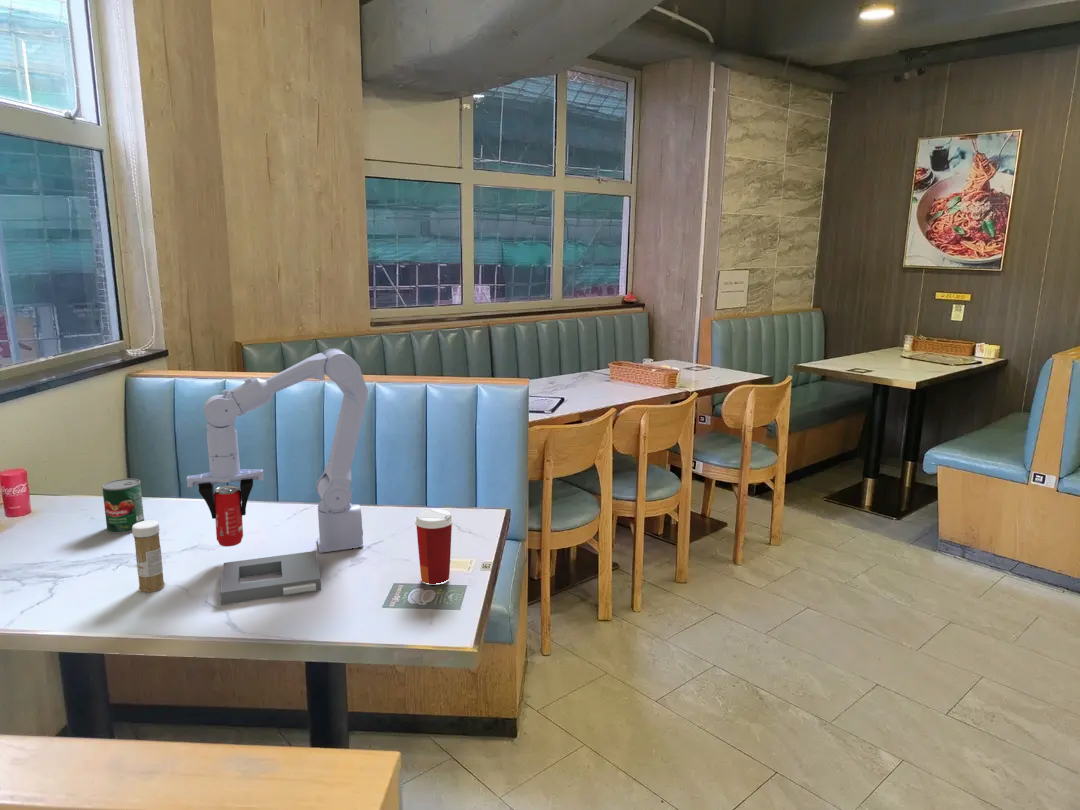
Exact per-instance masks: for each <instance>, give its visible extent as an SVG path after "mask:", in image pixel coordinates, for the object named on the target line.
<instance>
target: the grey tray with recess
mask: <svg viewBox="0 0 1080 810" xmlns="http://www.w3.org/2000/svg"><path fill="white" fill-rule="evenodd" d="M279 573H281V577H275V578H274V577H273V578H268V579H262V580H261V579H260V580H254V581H246V582H241V579H244V578H250V577H257V576H264V575H273V574H279ZM321 581H322V578H321V573H320V568H319V562H318V556H317V552H316V550H312V551H303V552H298V553H289V554H281V555H273V556H267V557H258V558H251V559H250V558H249V559H243V560H236V561H235V560H234V561H228V562H224V563H223V567H222V576H221V583H220V584H221V585H220V593H219V594H220V602H221V603H220V605H221V606H225V605H232V604H238V603H246V602H252V601H258V600H265V599H270V598H278V597H286V596H291V595H298V594H306V593H312V592H319V591H320V592H321V591H322V582H321Z"/></svg>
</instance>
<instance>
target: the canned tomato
mask: <svg viewBox="0 0 1080 810" xmlns="http://www.w3.org/2000/svg"><path fill="white" fill-rule="evenodd" d="M101 488H102V495H103V505H104V514H105V523H106V531H107V532H108V533H109V534H113V535H121V534H122V535H123V534H129V533H133V532H132V526H133V525H134V524H136V523H138V522H141V521H145V515H144V506H143V505H144V504H143V496H142V494H143V493H142V487H141V480H140V479H137V478H119V479H115V480H110V481H107V482H105V483H103V484H102V485H101Z"/></svg>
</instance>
